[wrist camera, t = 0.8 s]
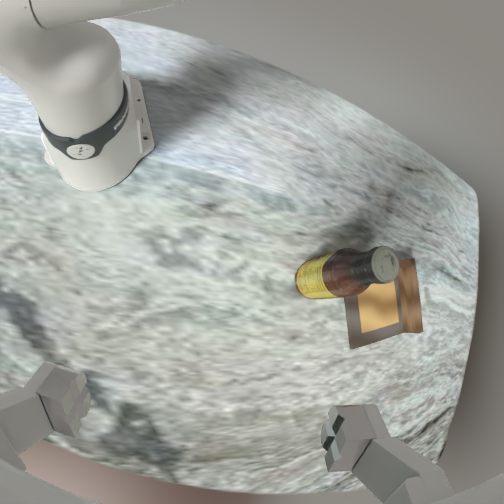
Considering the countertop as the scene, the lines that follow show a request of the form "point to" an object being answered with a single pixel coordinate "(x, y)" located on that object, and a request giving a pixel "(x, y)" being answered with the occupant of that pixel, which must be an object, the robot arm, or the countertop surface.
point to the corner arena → (385, 308)
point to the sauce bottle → (346, 272)
